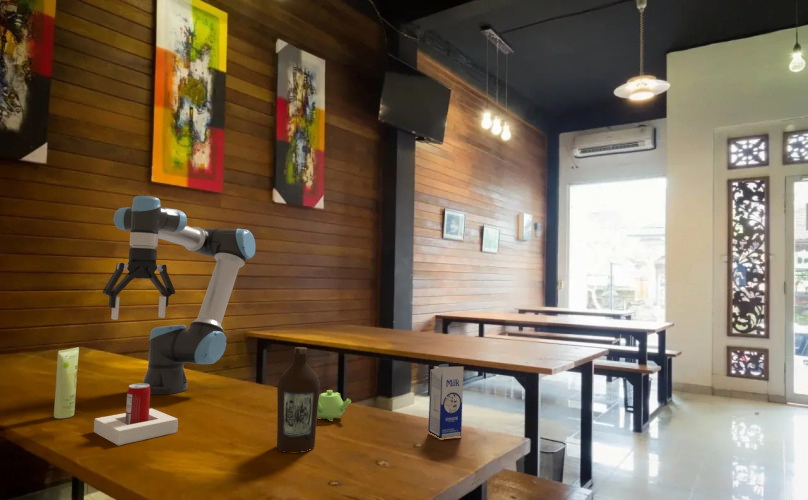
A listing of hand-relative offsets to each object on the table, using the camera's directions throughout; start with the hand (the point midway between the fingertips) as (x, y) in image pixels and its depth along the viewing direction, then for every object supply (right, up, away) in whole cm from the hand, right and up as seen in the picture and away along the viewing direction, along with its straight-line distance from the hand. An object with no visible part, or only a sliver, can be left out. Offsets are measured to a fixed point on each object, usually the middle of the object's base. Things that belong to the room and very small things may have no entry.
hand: (138, 318), depth 151 cm
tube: (-19, -28, -5) cm, 34 cm away
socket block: (+8, -28, -16) cm, 33 cm away
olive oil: (+52, -30, -23) cm, 64 cm away
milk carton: (+91, -32, -9) cm, 97 cm away
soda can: (+8, -28, -16) cm, 33 cm away
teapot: (+56, -31, +3) cm, 64 cm away
